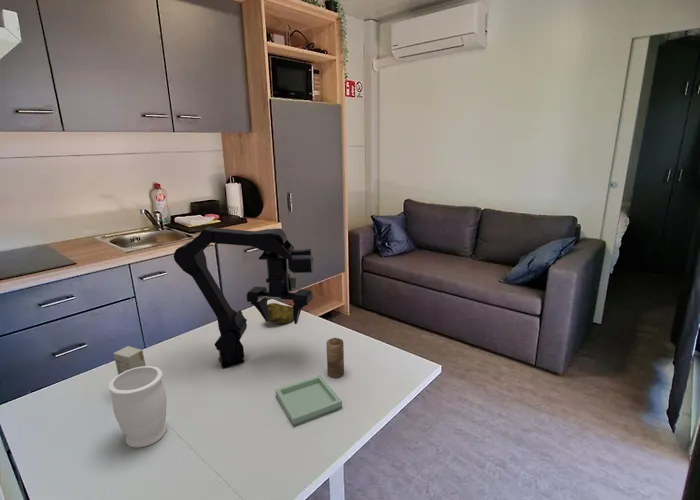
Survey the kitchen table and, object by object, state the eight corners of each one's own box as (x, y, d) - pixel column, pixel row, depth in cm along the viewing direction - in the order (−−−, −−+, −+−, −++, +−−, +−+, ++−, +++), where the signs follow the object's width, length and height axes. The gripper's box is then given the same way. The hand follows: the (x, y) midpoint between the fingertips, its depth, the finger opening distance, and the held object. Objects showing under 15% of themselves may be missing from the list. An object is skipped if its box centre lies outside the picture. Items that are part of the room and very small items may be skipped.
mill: (332, 380, 108) (330, 344, 105) (324, 371, 112) (323, 337, 109) (347, 375, 110) (346, 339, 107) (339, 366, 114) (338, 332, 111)
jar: (181, 424, 92) (172, 369, 88) (146, 457, 82) (134, 397, 78) (147, 415, 95) (137, 362, 91) (109, 445, 86) (96, 387, 82)
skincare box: (151, 389, 105) (144, 349, 102) (136, 398, 102) (129, 357, 98) (135, 383, 108) (127, 344, 105) (120, 392, 104) (112, 352, 101)
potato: (299, 324, 142) (298, 304, 140) (264, 330, 138) (262, 309, 136) (295, 315, 150) (294, 296, 147) (262, 320, 146) (260, 300, 144)
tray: (293, 426, 91) (293, 419, 90) (275, 396, 102) (275, 389, 101) (342, 408, 97) (342, 401, 96) (320, 381, 108) (320, 375, 107)
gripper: (317, 266, 116) (319, 313, 120) (260, 263, 120) (264, 309, 124) (304, 278, 105) (307, 329, 110) (242, 274, 110) (248, 324, 114)
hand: (281, 322), depth 115 cm, fingers open, 9 cm apart
